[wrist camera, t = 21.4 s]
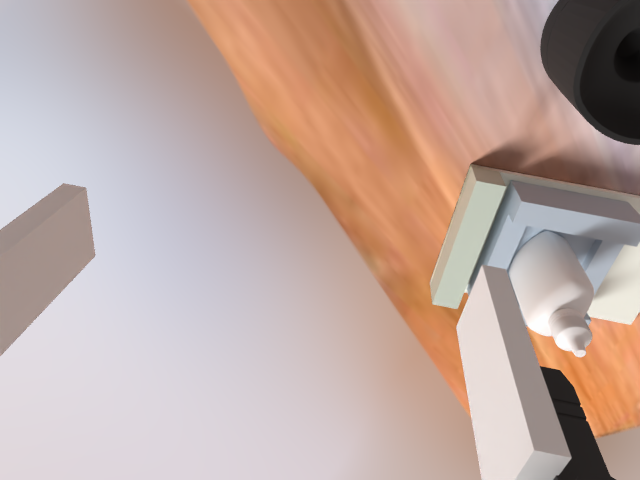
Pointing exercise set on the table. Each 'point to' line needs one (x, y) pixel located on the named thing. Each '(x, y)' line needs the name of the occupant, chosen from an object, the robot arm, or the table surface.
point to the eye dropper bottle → (553, 291)
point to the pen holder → (597, 62)
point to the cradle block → (560, 228)
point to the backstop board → (475, 225)
